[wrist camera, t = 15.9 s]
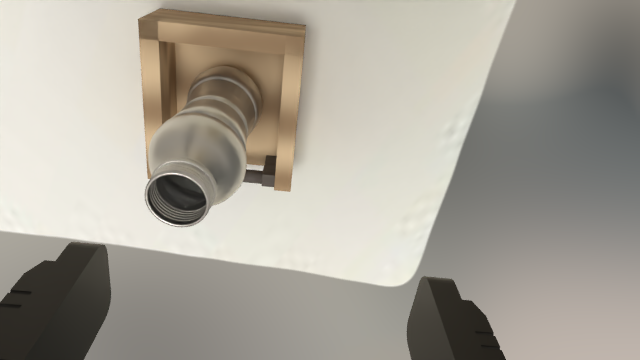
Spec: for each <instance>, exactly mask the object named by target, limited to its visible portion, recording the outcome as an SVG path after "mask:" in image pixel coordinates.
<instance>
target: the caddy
mask: <svg viewBox="0 0 640 360" xmlns="http://www.w3.org/2000/svg"><path fill="white" fill-rule="evenodd" d="M138 26H139V42H140V58H141V75H142V91H143V108H144V124H145V141H146V157H147V174H148V179H151V176H152V175H151V172H150V169H149V163H148V151H149V144H150V141H151V139H152V136H153V135H154V134H155V132H156V131H157V129H158V128H160V126H161V125H163V124H164V123H165V122H166V121H167V120H168V119H170V118H172V117H173V116H175V115H176V114H177V113H179V112H180V111H181V110H182V109H183V108H184V107H185V105H186V103H187V96H188V92H189V89H190V86H191V84H192V82H193V81H194V79H195V78H196V77H197V76H198V75H199V74H201V73H202V72H204V71H206V70H208V69H211V68H214V67H217V66H228V67H233V68H236V69H239V70H241V71H242V72H244V73H245V74H247V75H248V76H249V77H250V78H251V79H252V80H253V81H254V83H255V84H256V86H257V87H258V90H259V92H260V96H261V101H262V114H261V118H260V120H259V122H258V124H257V125H256V127H255V128H254V129H253V131H252V132H251V133H250V134H249V135H248V137H247V142H246V156H247V164H253V165H263V166H264V169H263V171H257V170H247V169H246V173H245V177H244V180H243V182H249V183H260V184H262V186H268V187H274V190H278V191H289V192H290V189H291V179H292V168H293V158H294V147H295V137H296V126H297V116H298V105H299V95H300V84H301V74H302V64H303V53H304V43H305V28H306V25H299V24H290V23H282V22H273V21H264V20H255V19H247V18H238V17H229V16H220V15H212V14H203V13H194V12H185V11H177V10H168V9H158V10H156V11H154V12H152V13H150V14H148V15H145V16H143V17H141V18H139V19H138Z"/></svg>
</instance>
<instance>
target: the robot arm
mask: <svg viewBox="0 0 640 360" xmlns="http://www.w3.org/2000/svg"><path fill="white" fill-rule="evenodd" d="M110 300H111V287H110V277H109V266H108V254H107V249H106V247H105V245H101V244H90V243H80V242H71V243H69V244H68V246H67V247H66V248H65V249H64V251H63V252H62V253H61V255H60V256H59V257H58V259H57V260H56V261H43V262H41V263H40V264H38V265H37V266H35V267H34V268H32V269H31V270H29V271H27V272H26V273H24V274H23V276H22V277H21V278H20V279H19V280H18V282H17V283H16V284H15V285H14V286H13V288H12V289H11V292H10V293H8V294H7V295H6V296H5V297H4V299H3V300H2V301H1V302H0V360H84V358H85V356H86V354H87V352H88V350H89V349H90V347H91V345H92V343H93V341H94V339H95V337H96V335H97V333H98V331H99V329H100V328H101V326H102V324H103V322H104V320H105V318H106V316H107V313H108V310H109V306H110ZM407 342H408V347H409V351H410V355H411V359H412V360H506V359H505V357H504V354H503V352H502V350H500V346H499V344H498V341H497V339H496V337H495V336H493V330H492V328H491V326H490V324H489V322H488V320H487V317H486V316H485V315H484V314H483V312H481V310H480V309H479V308H478V307H477V306H476V305H475V304H474V303H473V302H472V301H469V300H462V299H461V297H460V294H459V292H458V290H457V287H456V285H455V282H454V281H453V280H452V279H446V278H436V277H426V276H424V277H422V278H421V280H420V283H419V286H418V289H417V293H416V296H415V299H414V302H413V306H412V309H411V312H410V316H409V319H408V324H407Z"/></svg>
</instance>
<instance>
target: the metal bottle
mask: <svg viewBox="0 0 640 360" xmlns="http://www.w3.org/2000/svg"><path fill="white" fill-rule="evenodd" d="M261 114H262V101H261V96H260V92H259V90H258V87H257V86H256V84H255V83H254V81H253V80H252V79H251V78H250V77H249V76H248V75H247V74H245V73H244V72H242V71H241V70H239V69H236V68H233V67H228V66H217V67H214V68H211V69H208V70H206V71H204V72H202V73H201V74H199V75H198V76H197V77H196V78H195V79H194V81H193V82H192V84H191V86H190V89H189V92H188V96H187V103H186V105H185V107H184V108H183V109H182V110H181V111H180V112H179V113H177V114H176V115H175V116H173V117H172V118H170V119H168V120H167V121H166V122H165V123H164V124H163V125H161V126H160V128H158V129H157V131H156V132H155V134H154V135H153V136H152V139H151V141H150V144H149V151H148V163H149V169H150V172H151V175H152V176H151V179H150V181H149V182H148V184H147V186H146V189H145V201H146V204H147V206H148V208H149V210H150V211H151V213H152V214H153V215H154V216H155V217H156V218H158V219H159V220H160V221H162V222H164V223H166V224H168V225H171V226H175V227H188V226H192V225H195V224H197V223H199V222H200V221H201V220H203V218H204V217H205V216H206V215H207V213H208V211H209V209H210V208H211V206H213V205H217V204H219V203H221V202H224V201H225V200H227V199H228V198H229V197H230V196H232V195H233V194H234V193H235V192H236V191H237V190H238V188H239V187H240V186H241V184H242V182H243V180H244V177H245V173H246V166H247V156H246V142H247V137H248V135H249V134H250V133H251V132H252V131H253V129H254V128H255V127H256V125H257V124H258V122H259V120H260V118H261Z"/></svg>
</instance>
